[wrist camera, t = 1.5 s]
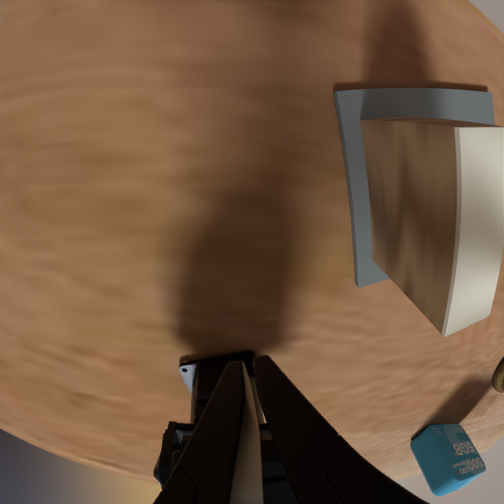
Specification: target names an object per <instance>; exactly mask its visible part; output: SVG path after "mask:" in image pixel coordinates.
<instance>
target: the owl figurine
mask: <svg viewBox="0 0 504 504" xmlns="http://www.w3.org/2000/svg"><path fill="white" fill-rule="evenodd" d="M492 386H493V388H494V389H495V390H496V391H497V392H500V393H503V392H504V358H503V359H502V360H501V362H500V363H499V365H498V367H497V368H496V370H495V371H494V374H493V377H492Z"/></svg>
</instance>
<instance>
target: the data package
mask: <svg viewBox="0 0 504 504" xmlns="http://www.w3.org/2000/svg"><path fill="white" fill-rule="evenodd" d="M410 447H411V450H412V452H413V454H414V456H415V458H416V460H417V462H418V464H419V466H420V468H421V470H422V473H423V475H424V477H425V479H426V481H427V483H428V485H429V487H430V490H431V492H432V493H433V494H434V495H435V496H443V495H445V494H448V493H450V492H453V491H455V490H458V489H460V488H462V487H465V486H467V485H468V484H469V483H471V482H472V481H473V480H475V479H476V478H477V477H478V476H480V475H481V474H482V473H483V472H485V469H486V467H485V464H484V462H483V460H482V459H481V457H480V455H479V453H478V452H477V450H476V448H475V447H474V445H473V443H472V442H471V440H470V438H469V437H468V435H467V434H466V432H465V430H464V429H463V428H462V426H460V425H459V424H441V425H429V426H428V427H427V428H426V429H425V430H424V431H423V432H422V433H420V434H419V435H418V436H417V437H416V438H415V439H414V440H413V441H411V443H410Z"/></svg>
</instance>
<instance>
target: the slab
mask: <svg viewBox="0 0 504 504" xmlns="http://www.w3.org/2000/svg"><path fill="white" fill-rule="evenodd" d="M360 125H361V132H362V139H363V146H364V154H365V162H366V171H367V180H368V191H369V203H370V217H371V234H372V260H373V261H374V262H375V263H376V264H377V265H378V266H379V267H380V268H381V269H382V270H383V271H384V273H385V274H386V275H387V276H388V277H389V278H390V279H391V280H392V281H393V282H394V283H395V284H396V285H397V286H398V287H399V288H400V289H401V290H402V291H403V292H404V293H405V294H406V295H407V297H408V298H409V299H410V300H411V301H412V302H413V303H414V304H415V305H416V306H417V307H418V308H419V310H420V311H421V312H422V313H423V314H424V315H425V316H426V317H427V318H428V319H429V321H430V322H431V323H432V324H433V325H434V326H435V327H436V329H437V330H438V331H439V332H440V333H441V334H442V335H443V337H446V336H448V335H451V334H453V333H455V332H457V331H459V330H461V329H463V328H466V327H468V326H470V325H472V324H474V323H476V322H478V321H480V320H482V319H484V318H485V317H487V316H489V314H490V310H491V306H492V302H493V298H494V294H495V290H496V285H497V280H498V276H499V270H500V265H501V259H502V253H503V247H504V127H502V126H496V125H490V124H483V123H476V122H468V121H459V120H450V119H439V118H426V117H409V116H401V117H386V118H374V119H364V120H360Z"/></svg>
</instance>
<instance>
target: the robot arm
mask: <svg viewBox="0 0 504 504" xmlns="http://www.w3.org/2000/svg"><path fill="white" fill-rule="evenodd" d="M248 356H251V357H248ZM183 368H186V369H183ZM179 372H180V374H181V376H182V378H183V379H184V381H185V383H186V385H187V387H188V389H189V391H190V393H191V394H192V399H191V420H190V424H189V423H177V422H173V421H169V425H168V429H166V430H165V433H164V434H163V441H162V449H161V453H160V456H159V458H158V461H157V463H156V466H155V468H154V477H155V478H156V479H157V480H158V481H159V482H160V485H161V488H162V491H161V492H160V494H159V495H158V497H157V498H156V500H155V501H154V503H153V504H430V503H427V502H426V501H424V500H422V499H420V498H419V497H417V496H416V495H414V494H412V493H411V492H409V491H408V490H407V489H405V488H404V487H402V486H401V485H399V484H398V483H396V482H395V481H393V480H392V479H391V478H389V477H388V476H386V475H385V474H384V473H382V472H381V471H379V470H378V469H377V468H376V467H374V466H373V465H372V464H371V463H369V462H368V461H367V460H366V459H364V458H363V457H362V456H361V455H360V454H359V453H358V452H357V451H356V450H355V449H354V448H353V447H352V446H351V445H349V443H348V442H347V441H346V440H345V439H344V438H343V437H342V436H341V435H339V434H338V432H337V431H336V430H335V429H334V428H333V427H332V426H331V425H330V424H329V423H328V422H327V420H326V419H325V418H324V417H323V416H322V415H321V414H320V413H319V412H318V411H317V410H316V409H315V407H314V406H313V405H312V404H311V403H310V402H309V401H308V400H307V399H306V397H305V396H304V395H303V394H302V393H301V392H300V391H299V390H298V389H297V387H296V386H295V385H294V384H293V383H292V382H291V381H290V380H289V378H288V377H287V376H286V375H285V374H284V373H283V372H282V370H281V369H280V368H279V367H278V366H277V365H276V363H275V362H274V361H273V360H272V359H271V358H270V357H269V356H268V355H263V356H258V357H256V355H255V353H254V352H253V351H244V352H239V353H234V354H229V355H224V356H219V357H214V358H208V359H203V360H197V361H191V362H185V363H181V364H180V365H179ZM262 410H263V412H262ZM263 413H264V416H265V419H266V422H267V423H264V418H263Z"/></svg>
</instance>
